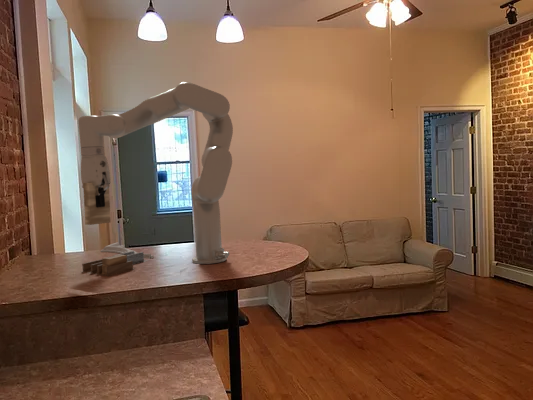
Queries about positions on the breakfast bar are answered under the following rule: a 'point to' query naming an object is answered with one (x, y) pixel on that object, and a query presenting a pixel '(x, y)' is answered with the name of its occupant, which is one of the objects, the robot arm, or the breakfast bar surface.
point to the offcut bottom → (104, 270)
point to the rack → (96, 267)
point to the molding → (121, 250)
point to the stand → (134, 257)
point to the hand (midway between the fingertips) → (97, 206)
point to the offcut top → (114, 260)
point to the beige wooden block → (91, 211)
